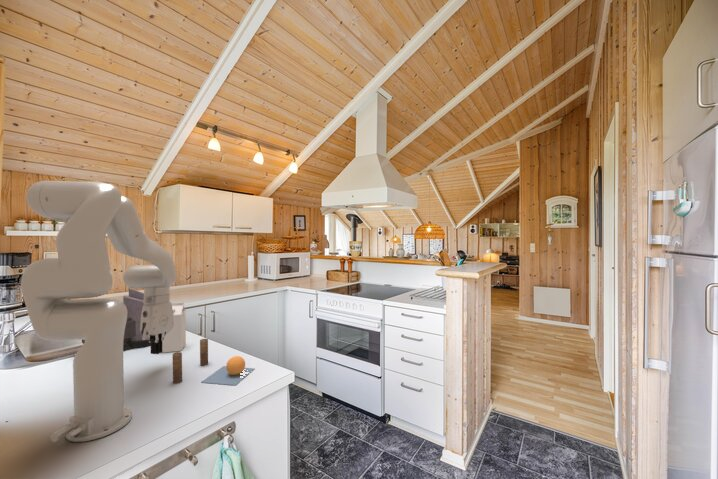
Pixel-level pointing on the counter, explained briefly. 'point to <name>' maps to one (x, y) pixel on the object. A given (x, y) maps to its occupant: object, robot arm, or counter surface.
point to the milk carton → (176, 331)
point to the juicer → (133, 321)
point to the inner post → (177, 367)
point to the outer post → (203, 352)
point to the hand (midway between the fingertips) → (156, 353)
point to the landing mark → (225, 377)
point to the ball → (235, 365)
